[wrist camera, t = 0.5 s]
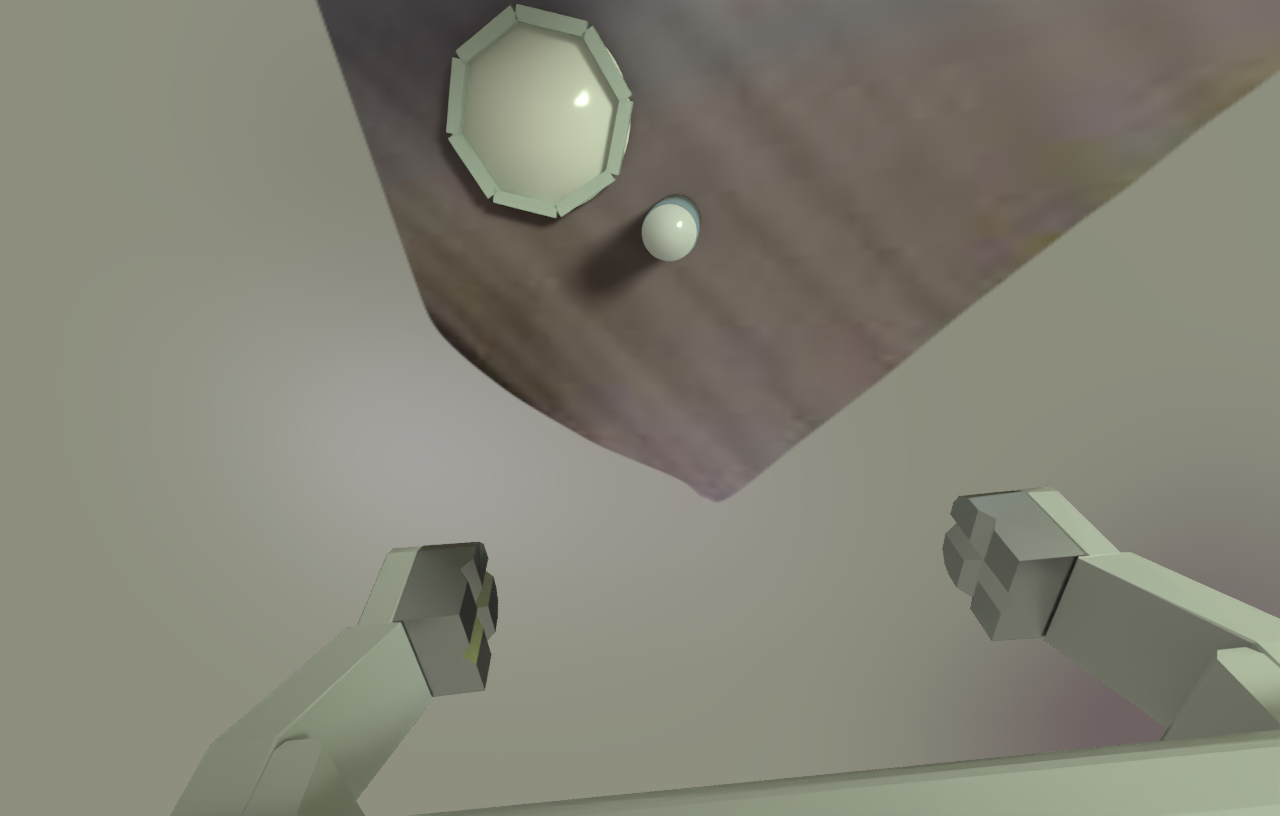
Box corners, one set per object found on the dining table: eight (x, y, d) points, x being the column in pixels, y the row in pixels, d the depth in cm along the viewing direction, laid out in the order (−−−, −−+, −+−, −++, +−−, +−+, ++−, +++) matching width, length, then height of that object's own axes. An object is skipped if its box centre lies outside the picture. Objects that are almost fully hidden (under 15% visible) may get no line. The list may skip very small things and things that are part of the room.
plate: (465, -8, 45) (456, -13, 43) (649, 37, 45) (647, 34, 43) (448, 188, 51) (440, 190, 49) (611, 229, 50) (608, 232, 49)
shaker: (657, 188, 49) (647, 196, 42) (706, 200, 49) (704, 210, 41) (646, 238, 50) (634, 254, 43) (693, 250, 50) (689, 268, 43)
